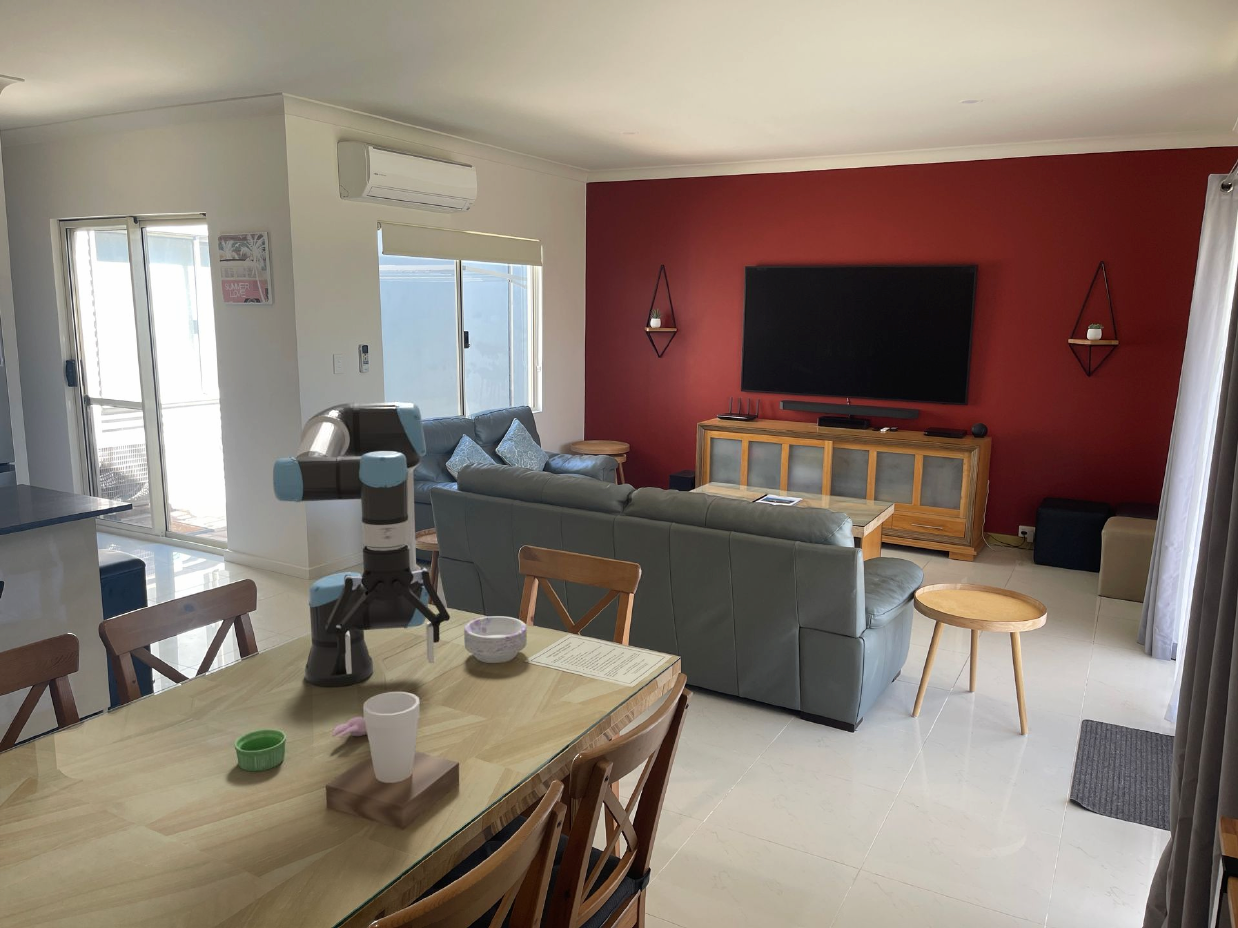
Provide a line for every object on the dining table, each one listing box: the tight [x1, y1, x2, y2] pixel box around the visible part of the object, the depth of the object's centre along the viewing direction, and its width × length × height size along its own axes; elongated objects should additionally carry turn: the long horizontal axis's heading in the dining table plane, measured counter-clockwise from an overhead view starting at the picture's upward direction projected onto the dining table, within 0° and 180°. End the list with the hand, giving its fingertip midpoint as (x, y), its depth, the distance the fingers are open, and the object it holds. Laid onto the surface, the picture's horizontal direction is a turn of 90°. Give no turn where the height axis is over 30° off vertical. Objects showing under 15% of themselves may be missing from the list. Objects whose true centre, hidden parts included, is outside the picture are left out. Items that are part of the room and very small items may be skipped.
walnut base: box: [325, 750, 460, 830], centre depth 154 cm, size 16×16×4 cm
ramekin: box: [234, 728, 287, 772], centre depth 165 cm, size 9×9×4 cm
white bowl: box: [463, 615, 528, 664], centre depth 216 cm, size 15×15×8 cm
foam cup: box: [362, 691, 421, 783], centre depth 152 cm, size 10×9×13 cm
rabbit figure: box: [332, 710, 368, 739], centre depth 176 cm, size 6×6×15 cm
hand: (390, 665), depth 150 cm, fingers open, 13 cm apart
